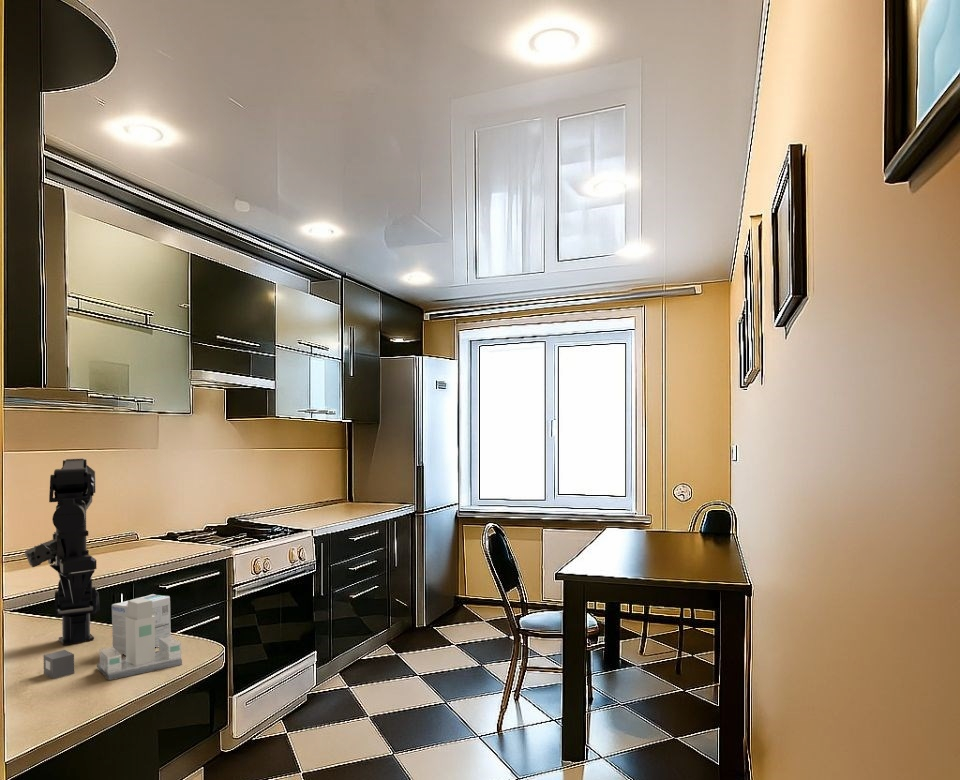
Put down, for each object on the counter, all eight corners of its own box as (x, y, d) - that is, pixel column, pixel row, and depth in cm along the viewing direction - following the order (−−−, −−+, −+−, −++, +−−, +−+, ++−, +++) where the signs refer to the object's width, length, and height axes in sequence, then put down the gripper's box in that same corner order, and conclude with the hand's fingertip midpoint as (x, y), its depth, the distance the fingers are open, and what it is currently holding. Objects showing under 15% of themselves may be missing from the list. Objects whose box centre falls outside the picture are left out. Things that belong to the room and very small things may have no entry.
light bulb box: (153, 639, 174) (153, 593, 175) (172, 643, 171) (171, 595, 171) (110, 652, 165) (110, 603, 165) (129, 656, 162) (128, 606, 162)
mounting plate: (97, 668, 154) (96, 646, 154) (167, 653, 163) (167, 633, 163) (108, 680, 146) (108, 658, 146) (182, 664, 155) (181, 643, 155)
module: (126, 661, 154) (125, 601, 154) (145, 656, 157) (144, 597, 157) (136, 665, 151) (135, 604, 151) (155, 660, 154) (154, 600, 154)
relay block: (43, 674, 152) (43, 654, 152) (65, 669, 155) (64, 649, 155) (52, 679, 148) (52, 659, 148) (74, 674, 151) (74, 654, 151)
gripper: (21, 527, 163) (21, 599, 162) (34, 535, 148) (35, 615, 147) (78, 521, 170) (78, 591, 169) (96, 529, 155) (97, 605, 154)
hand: (71, 600), depth 160 cm, fingers open, 9 cm apart
